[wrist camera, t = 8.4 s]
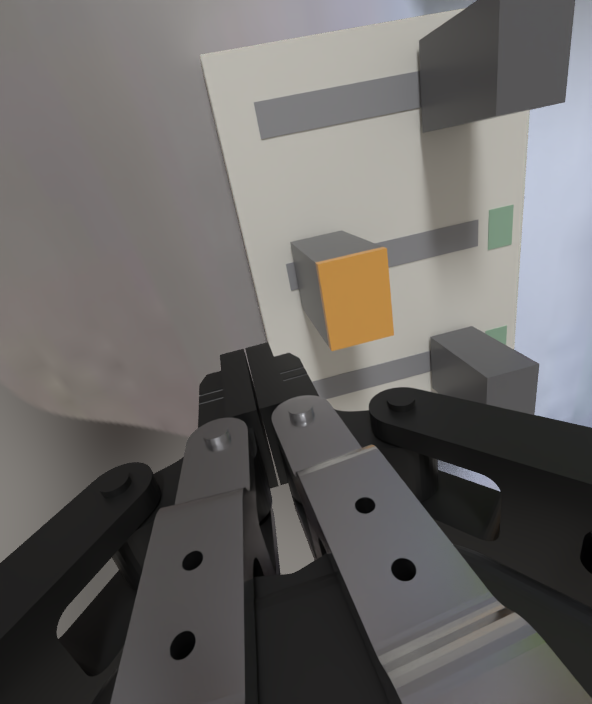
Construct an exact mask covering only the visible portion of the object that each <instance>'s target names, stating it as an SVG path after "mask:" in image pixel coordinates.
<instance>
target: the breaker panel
mask: <svg viewBox="0 0 592 704" xmlns="http://www.w3.org/2000/svg"><path fill="white" fill-rule="evenodd" d="M464 9H465V8H463V9H458V10H452V11H446V12H440V13H435V14H429V15H423V16H418V17H412V18H406V19H401V20H395V21H389V22H384V23H378V24H372V25H367V26H361V27H355V28H349V29H344V30H338V31H332V32H327V33H321V34H315V35H310V36H304V37H298V38H293V39H287V40H281V41H276V42H270V43H264V44H258V45H253V46H247V47H241V48H236V49H230V50H224V51H219V52H213V53H207V54H202V55H200V59H201V67H202V71H203V76H204V80H205V84H206V88H207V92H208V96H209V101H210V105H211V109H212V113H213V117H214V121H215V126H216V130H217V134H218V138H219V142H220V146H221V151H222V155H223V159H224V163H225V167H226V171H227V176H228V180H229V184H230V188H231V192H232V196H233V201H234V205H235V209H236V213H237V217H238V221H239V226H240V230H241V234H242V238H243V242H244V246H245V251H246V255H247V259H248V263H249V267H250V271H251V276H252V280H253V284H254V288H255V292H256V296H257V301H258V305H259V309H260V313H261V317H262V321H263V326H264V330H265V334H266V338H267V342H268V343H269V345H270V348H271V351H272V353H273V356H274V357H275V356H278V355H282V354H286V353H291V354H293V355H295V356H297V357H299V358H300V360H301V362H302V364H303V366H304V368H305V370H306V372H307V374H308V376H309V377H310V379H311V381H312V383H313V385H314V387H315V389H316V391H317V393H318V395H319V397H322V398H324V399H326V400H327V401H328V402H329V403H330V404H331V406H332V407H333V408H334V409H335V410H340V411H365V410H369V402H370V400H371V399H372V398H373V397H374V396H375V395H376V394H378V393H379V392H382V391H384V390H387V389H391V388H397V387H410V388H416V389H420V390H425V391H429V392H434V393H437V392H436V391H435V390H434V389H433V388H432V367H431V341H430V337H431V336H435V335H439V334H443V333H447V332H451V331H455V330H458V329H462V328H466V327H470V326H473V327H475V328H477V329H478V330H480V331H482V332H484V333H485V334H487V335H489V336H491V337H492V338H494V339H496V340H498V341H500V342H501V343H503V344H505V345H507V346H508V347H510V348H512V349H514V343H515V328H516V312H517V297H518V281H519V266H520V251H521V235H522V220H523V205H524V189H525V174H526V159H527V143H528V128H529V112H530V110H527V111H523V112H518V113H514V114H509V115H505V116H500V117H496V118H492V119H487V120H483V121H478V122H474V123H469V124H464V125H459V126H454V127H449V128H444V129H440V130H435V131H430V132H425V133H422V108H421V82H420V56H419V40H420V39H422V38H423V37H425V36H426V35H428V34H429V33H430V32H432V31H433V30H435V29H436V28H438V27H439V26H441V25H442V24H444V23H445V22H447V21H448V20H449V19H451V18H452V17H454V16H455V15H457V14H458V13H460V12H461V11H463V10H464ZM341 230H342V231H344V232H347V233H349V234H352V235H355V236H357V237H360V238H362V239H365V240H367V241H370V242H372V243H375V244H377V245H380V246H383V247H385V248H387V255H388V267H389V279H390V291H391V303H392V315H393V327H394V335H393V336H390V337H386V338H382V339H378V340H374V341H370V342H366V343H362V344H358V345H354V346H351V347H347V348H343V349H339V350H335V351H331V350H330V348H329V347H328V345H327V344H326V342H325V341H324V339H323V338H322V337H321V335H320V334H319V332H318V331H317V329H316V328H315V326H314V325H313V323H312V322H311V320H310V319H309V318H308V316H307V315H306V313H305V312H304V310H303V308H302V302H301V297H300V292H299V287H298V281H297V276H296V271H295V265H294V260H293V255H292V250H291V244H290V242H293V241H297V240H301V239H306V238H310V237H315V236H319V235H324V234H328V233H332V232H337V231H341Z"/></svg>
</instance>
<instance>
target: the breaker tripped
mask: <svg viewBox="0 0 592 704" xmlns="http://www.w3.org/2000/svg"><path fill="white" fill-rule="evenodd" d="M290 244H291V250H292V255H293V260H294V265H295V271H296V276H297V281H298V287H299V292H300V297H301V302H302V308H303V310H304V312H305V313H306V315H307V316H308V318H309V319H310V320H311V322H312V323H313V325H314V326H315V328H316V329H317V331H318V332H319V334H320V335H321V337H322V338H323V339H324V341H325V342H326V344H327V345H328V347H329V348H330V350H331V351H335V350H339V349H343V348H347V347H351V346H354V345H358V344H362V343H366V342H370V341H374V340H378V339H382V338H386V337H390V336H393V335H394V327H393V315H392V303H391V291H390V279H389V267H388V255H387V248H385V247H383V246H380V245H377V244H375V243H372V242H370V241H367V240H365V239H362V238H360V237H357V236H355V235H352V234H349V233H347V232H344V231H342V230H341V231H337V232H332V233H328V234H324V235H319V236H315V237H310V238H306V239H301V240H297V241H293V242H290Z"/></svg>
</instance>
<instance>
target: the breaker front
mask: <svg viewBox="0 0 592 704" xmlns="http://www.w3.org/2000/svg"><path fill="white" fill-rule="evenodd" d="M574 5H575V0H477V1H476V2H474V3H473V4H471V5H470V6H468V7H467V8H465V9H464V10H463V11H461V12H460V13H458V14H457V15H455V16H454V17H452V18H451V19H449V20H448V21H447V22H445V23H444V24H442V25H441V26H439V27H438V28H436V29H435V30H433V31H432V32H430V33H429V34H428V35H426V36H425V37H423V38H422V39H420V40H419V56H420V82H421V108H422V133H425V132H430V131H435V130H440V129H444V128H449V127H454V126H459V125H464V124H469V123H474V122H478V121H483V120H487V119H492V118H496V117H500V116H505V115H509V114H514V113H518V112H523V111H527V110H532V109H536V108H541V107H545V106H550V105H554V104H558V103H563V102H565V97H566V86H567V76H568V66H569V56H570V46H571V35H572V25H573V15H574Z"/></svg>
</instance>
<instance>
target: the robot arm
mask: <svg viewBox="0 0 592 704" xmlns="http://www.w3.org/2000/svg"><path fill="white" fill-rule="evenodd" d="M245 349H246V353H247V357H248V362H249V366H250V370H251V374H252V377H251V374H250V370H249V366H248V363H247V359H246V356H245V352H244V349H241V350H237V351H233V352H229V353H226V354H222V355H220V361H221V371H219V372H215V373H212V374H208V375H206V377H205V378H204V379H203V381H202V382H201V384H200V388H199V395H200V397H199V419H198V429H197V430H195V431H194V432H193V433H192V434H191V436H190V437H189V439H188V440H187V443H186V448H185V453H184V457H183V458H182V459H180V460H179V461H177V462H175V463H174V464H172V465H170V466H168V467H167V468H164V469H162V470H160V471H158V472H156V473H155V474H153V472H152V470H151V468H150V467H149V466H148V465H146V464H144V463H139V462H137V463H136V462H134V463H127V464H124V465H121V466H118V467H115V468H113V469H111V470H109V471H107V472H106V473H104V474H103V475H101V476H100V477H98V478H97V479H96V480H95V481H94V482H92V483H91V484H90V485H89V486H88V487H87V488H86V489H84V490H83V491H82V492H81V493H80V494H79V495H78V496H76V497H75V498H74V499H73V500H72V501H71V502H70V503H68V504H67V505H66V506H65V507H64V508H63V509H62V510H60V511H59V512H58V513H57V514H56V515H55V516H54V517H52V518H51V519H50V520H49V521H48V522H47V523H46V524H44V525H43V526H42V527H41V528H40V529H39V530H38V531H37V532H36V533H34V534H33V535H32V536H31V537H30V538H29V539H27V540H26V541H25V542H24V543H23V544H22V545H21V546H19V547H18V548H17V549H16V550H15V551H14V552H13V553H11V554H10V555H9V556H8V557H7V558H6V559H5V560H3V561H2V562H1V563H0V704H592V428H590V427H586V426H581V425H577V424H572V423H568V422H563V421H559V420H554V419H550V418H545V417H541V416H536V415H532V414H528V413H523V412H519V411H514V410H510V409H505V408H501V407H496V406H492V405H487V404H483V403H478V402H474V401H469V400H465V399H460V398H456V397H451V396H447V395H442V394H438V393H434V392H429V391H425V390H420V389H416V388H410V387H397V388H391V389H387V390H384V391H382V392H379V393H378V394H376V395H375V396H374V397H373V398H372V399H371V400H370V402H369V410H365V411H340V410H335V409H334V408H333V407H332V406H331V404H330V403H329V402H328V401H327V400H326V399H324V398H322V397H319V395H318V393H317V391H316V389H315V387H314V385H313V383H312V381H311V379H310V377H309V376H308V374H307V372H306V370H305V368H304V366H303V364H302V362H301V360H300V358H299V357H297V356H295V355H293V354H291V353H286V354H282V355H278V356H275V357H274V356H273V353H272V351H271V348H270V345H269V343H268V342H267V343H263V344H259V345H256V346H252V347H248V348H245ZM252 379H253V381H252ZM253 383H254V384H253ZM254 387H255V388H254ZM265 430H266V431H265ZM266 434H267V436H266ZM267 437H268V440H267ZM268 441H269V444H270V448H271V451H272V455H273V459H274V462H275V466H276V469H277V473H278V476H279V480H280V483H281V485H282V484H286V483H289V487H290V491H291V494H292V498H293V501H294V505H295V509H296V512H297V515H298V517H299V520H300V523H301V525H302V528H303V530H304V533H305V536H306V538H307V541H308V544H309V546H310V549H311V551H312V554H313V557H314V560H315V561H314V562H312V563H310V564H309V565H307V566H306V567H304V568H302V569H301V570H299V571H297V572H295V573H292V574H286V575H280V565H279V556H278V547H277V537H276V529H275V519H274V513H273V509H272V496H271V491H270V488H273V487H276V486H278V482H277V478H276V474H275V470H274V465H273V461H272V457H271V453H270V448H269V444H268ZM438 460H441V461H444V462H447V463H450V464H453V465H456V466H459V467H462V468H465V469H468V470H471V471H474V472H477V473H480V474H482V475H485V476H487V477H488V478H490V479H491V480H492V481H494V482H495V483H496V484H497V486H498V487H499V489H500V491H501V492H500V491H497V490H494V489H491V488H488V487H485V486H482V485H480V484H477V483H474V482H471V481H468V480H465V479H463V478H460V477H457V476H454V475H451V474H448V473H445V472H443V471H440V470H438ZM111 557H112V558H113V560H114V562H115V563H116V565H117V567H118V569H119V571H118V572H117V573H116V574H115V575H114V577H113V578H112V579H111V580H110V581H109V582H108V584H107V585H106V586H105V587H104V588H103V589H102V591H101V592H100V593H99V594H98V595H97V596H96V598H95V599H94V600H93V601H92V602H91V603H90V604H89V606H88V607H87V608H86V609H85V610H84V612H83V613H82V614H81V615H80V616H79V617H78V618H77V620H76V621H75V622H74V623H73V624H72V625H71V627H70V628H69V629H68V630H67V631H66V632H65V633H64V634H63V636H62V637H60V638H59V639H58V638H57V634H56V631H57V625H58V622H59V619H60V617H61V615H62V613H63V612H64V610H65V609H66V607H67V606H68V605H69V604H70V603H71V602H72V600H73V599H74V598H75V597H76V596H77V595H78V594H79V593H80V592H81V591H82V589H83V588H84V587H85V586H86V585H87V584H88V583H89V582H90V580H91V579H92V578H93V577H94V576H95V575H96V574H97V573H98V572H99V571H100V569H101V568H102V567H103V566H104V565H105V564H106V563H107V562H108V561H109V559H110V558H111Z"/></svg>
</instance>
